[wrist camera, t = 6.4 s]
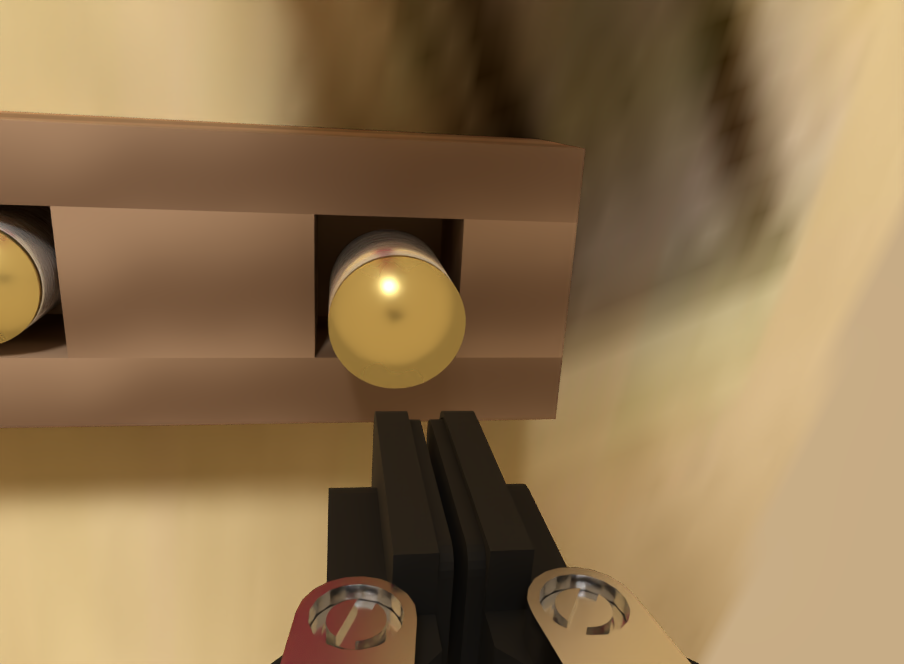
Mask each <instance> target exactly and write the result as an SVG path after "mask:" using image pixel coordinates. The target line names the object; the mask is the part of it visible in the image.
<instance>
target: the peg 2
mask: <svg viewBox="0 0 904 664" xmlns="http://www.w3.org/2000/svg"><path fill="white" fill-rule="evenodd" d="M465 326H466V316H465V309H464V305H463V302H462V299H461V297H460V294H459V292H458V291H457V289H456V287H455V286H454V284H453V282H452V281H451V279H450V278H449V276H448V274H447V273H446V271H445V270H444V268H443V266H442V265H441V263H440V262H439V260H438V258H437V257H436V255H435V254H434V252H433V251H432V250H431V249H430V247H429V246H428V245H427V244H425V243H424V242H423V241H422V240H420V239H419V238H417V237H416V236H414V235H412V234H409V233H407V232H404V231H400V230H393V229H381V230H375V231H371V232H368V233H365V234H363V235H361V236H359V237H357V238H356V239H354V240H353V241H351V242H350V243H349V244H348V245H347V246H346V247H345V248H344V249H343V250H342V251H341V253H340V254H339V255H338V257H337V259H336V261H335V263H334V265H333V268H332V271H331V276H330V286H329V313H328V330H329V337H330V342H331V344H332V347H333V350H334V352H335V354H336V356H337V357H338V359H339V360H340V362H341V363H342V364H343V365H344V366H345V367H346V369H347V370H348V371H350V372H351V373H352V374H353V375H355V376H356V377H358V378H359V379H361V380H363V381H365V382H367V383H369V384H372V385H375V386H378V387H384V388H406V387H412V386H415V385H419V384H422V383H424V382H426V381H428V380H430V379H432V378H433V377H435V376H437V375H438V374H439V373H440V372H442V371H443V370H444V369H445V368H446V367H447V366H448V365H449V364H450V363H451V361H452V360H453V359H454V357H455V356H456V354H457V352H458V351H459V348H460V346H461V344H462V341H463V337H464V334H465Z"/></svg>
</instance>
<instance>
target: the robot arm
mask: <svg viewBox="0 0 904 664" xmlns="http://www.w3.org/2000/svg"><path fill="white" fill-rule="evenodd" d="M272 664H699V663H696V662H694V661H692V660H690V659H688V658H686V657H685V656H684V654H683V653H682V652H681V651H680V649H679V648H678V647H677V646H676V645H675V643H674V642H673V641H672V640H671V639H670V637H669V636H668V635H667V634H666V632H665V631H664V630H663V629H662V628H661V626H660V625H659V624H658V623H657V622H656V620H655V619H654V618H653V617H652V615H651V614H650V613H649V612H648V611H647V609H646V608H645V607H644V606H643V604H642V603H641V602H640V601H639V600H638V598H637V597H636V596H635V595H634V594H633V593H632V592H631V591H630V590H629V589H628V588H627V587H626V586H625V585H624V584H622V583H620V582H619V581H617V580H615V579H614V578H612V577H610V576H608V575H606V574H603V573H600V572H597V571H594V570H590V569H584V568H578V567H567V566H566V564H565V562H564V560H563V558H562V556H561V554H560V552H559V550H558V548H557V546H556V544H555V542H554V540H553V538H552V536H551V534H550V532H549V530H548V528H547V526H546V524H545V522H544V519H543V517H542V515H541V513H540V511H539V509H538V507H537V505H536V503H535V501H534V499H533V497H532V495H531V493H530V491H529V489H528V488H527V486H526V485H525V484H506V483H505V481H504V478H503V476H502V474H501V472H500V469H499V467H498V465H497V462H496V460H495V458H494V456H493V453H492V451H491V449H490V447H489V444H488V442H487V440H486V437H485V435H484V433H483V431H482V428H481V426H480V424H479V421H478V419H477V417H476V415H475V413H474V411H441V413H440V417H439V419H429V421H428V429H427V445H426V441H425V437H424V433H423V429H422V425H421V421H420V419H409V416H408V412H407V411H375V414H374V431H373V461H372V487H359V488H329V503H328V554H327V583H325V584H323V585H321V586H319V587H317V588H315V589H314V590H312V591H311V592H310V593H309V594H308V595H307V596H306V597H305V598H304V599H303V600H302V601H301V603H300V605H299V607H298V609H297V611H296V613H295V617H294V620H293V623H292V627H291V630H290V633H289V637H288V640H287V643H286V647H285V650H284V653H283V655H282V656H281V657H280V658H278V659H277V660H276V661H274V662H273V663H272Z"/></svg>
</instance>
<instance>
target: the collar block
mask: <svg viewBox="0 0 904 664" xmlns="http://www.w3.org/2000/svg"><path fill="white" fill-rule="evenodd" d="M585 150H586V149H584V148H579V147H574V146H570V145H565V144H560V143H555V142H550V141H546V140H541V139H531V138H512V137H492V136H473V135H454V134H434V133H415V132H396V131H376V130H357V129H338V128H318V127H299V126H280V125H260V124H241V123H222V122H202V121H183V120H164V119H144V118H125V117H106V116H86V115H67V114H48V113H28V112H9V111H0V204H3V205H34V206H46V207H48V208H50V210H51V218H52V227H53V235H54V243H55V252H56V260H57V269H58V277H59V285H60V294H61V303H60V304H59V305H57V306H56V307H55V308H53V309H52V310H51V311H49V312H48V313H47V314H45V315H44V316H43V317H41V318H40V319H39V320H37V321H36V322H35V323H33V324H32V325H30V326H29V327H28V328H26V329H25V330H24V331H22V332H21V333H20V334H18V335H17V336H15V337H14V338H12V339H10V340H8V341H6V342H4V343H0V428H26V427H89V426H152V425H215V424H279V423H342V422H374V414H375V411H407V412H408V416H409V419H420V421H429V419H439V417H440V413H441V411H474V413H475V415H476V417H477V419H478V420H531V419H556V410H557V401H558V392H559V383H560V374H561V365H562V356H563V347H564V338H565V329H566V320H567V311H568V302H569V293H570V284H571V275H572V266H573V257H574V249H575V240H576V231H577V222H578V213H579V204H580V195H581V186H582V177H583V168H584V159H585ZM381 229H393V230H400V231H404V232H407V233H409V234H412V235H414V236H416V237H417V238H419V239H420V240H422V241H423V242H424V243H425V244H427V245H428V246H429V247H430V249H431V250H432V251H433V252H434V254H435V255H436V257H437V258H438V260H439V262H440V263H441V265H442V266H443V268H444V270H445V271H446V273H447V274H448V276H449V278H450V279H451V281H452V282H453V284H454V286H455V287H456V289H457V291H458V292H459V294H460V297H461V299H462V302H463V305H464V309H465V316H466V326H465V334H464V337H463V341H462V344H461V346H460V348H459V351H458V352H457V354H456V356H455V357H454V359H453V360H452V361H451V363H450V364H449V365H448V366H447V367H446V368H445V369H444V370H443V371H442V372H440V373H439V374H438V375H437V376H435V377H433V378H432V379H430V380H428V381H426V382H424V383H422V384H419V385H415V386H412V387H406V388H384V387H378V386H375V385H372V384H369V383H367V382H365V381H363V380H361V379H359V378H358V377H356V376H355V375H353V374H352V373H351V372H350V371H348V370H347V369H346V367H345V366H344V365H343V364H342V363H341V362H340V360H339V359H338V357H337V356H336V354H335V352H334V350H333V347H332V344H331V342H330V337H329V330H328V313H329V286H330V276H331V271H332V268H333V265H334V263H335V261H336V259H337V257H338V255H339V254H340V253H341V251H342V250H343V249H344V248H345V247H346V246H347V245H348V244H349V243H350V242H351V241H353V240H354V239H356V238H357V237H359V236H361V235H363V234H365V233H368V232H371V231H375V230H381Z"/></svg>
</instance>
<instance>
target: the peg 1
mask: <svg viewBox="0 0 904 664" xmlns="http://www.w3.org/2000/svg"><path fill="white" fill-rule="evenodd" d="M60 303H61V294H60V285H59V277H58V269H57V260H56V252H55V243H54V235H53V227H52V218H51V210H50V208H48V207H46V206H34V205H3V204H0V343H4V342H6V341H8V340H10V339H12V338H14V337H15V336H17V335H18V334H20V333H21V332H22V331H24V330H25V329H26V328H28V327H29V326H30V325H32V324H33V323H35V322H36V321H37V320H39V319H40V318H41V317H43V316H44V315H45V314H47V313H48V312H49V311H51V310H52V309H53V308H55V307H56V306H57V305H59V304H60Z"/></svg>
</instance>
